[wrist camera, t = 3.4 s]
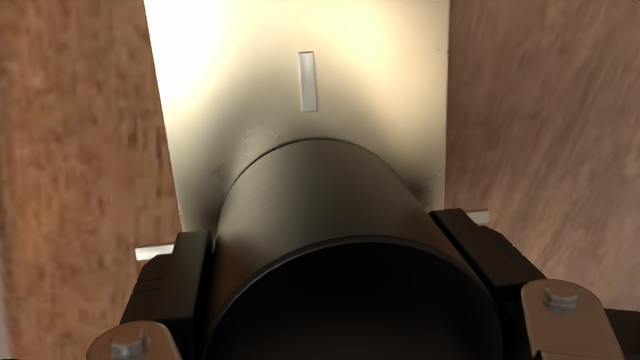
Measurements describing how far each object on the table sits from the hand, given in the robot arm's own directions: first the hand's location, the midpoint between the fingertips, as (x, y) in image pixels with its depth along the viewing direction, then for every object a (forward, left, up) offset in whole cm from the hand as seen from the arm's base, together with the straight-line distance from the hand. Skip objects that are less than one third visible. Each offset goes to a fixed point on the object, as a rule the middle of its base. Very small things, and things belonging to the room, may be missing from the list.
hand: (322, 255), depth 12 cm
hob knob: (0, 0, -1) cm, 1 cm away
